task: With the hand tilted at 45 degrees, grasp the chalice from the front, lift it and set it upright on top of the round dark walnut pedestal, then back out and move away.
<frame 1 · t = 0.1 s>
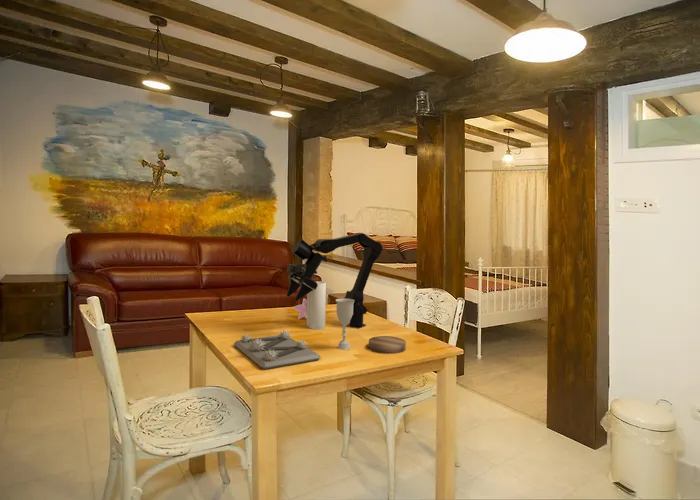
hand: (291, 298, 181), 15 cm above the table, tool tilted 35°, fingers open, 9 cm apart
decorative plate: (275, 354, 158), on the table
walnut pedestal: (387, 347, 167), on the table
vase: (315, 326, 195), on the table
chalice: (343, 348, 166), on the table
lily: (306, 319, 209), on the table
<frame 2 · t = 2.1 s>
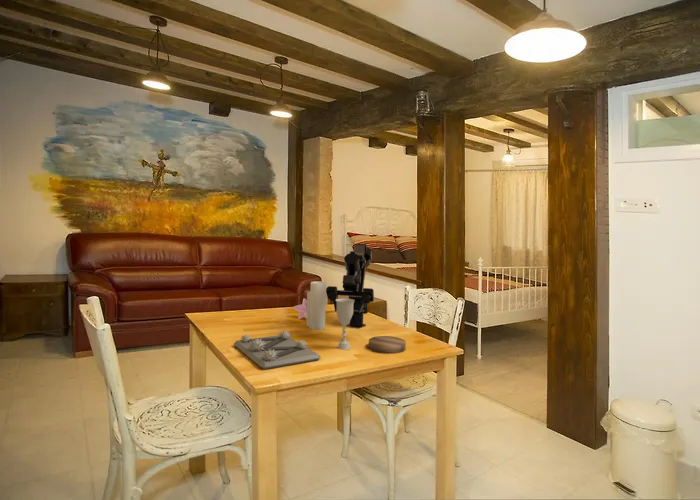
hand: (347, 311, 170), 12 cm above the table, tool tilted 45°, fingers open, 9 cm apart
nothing on the table moved.
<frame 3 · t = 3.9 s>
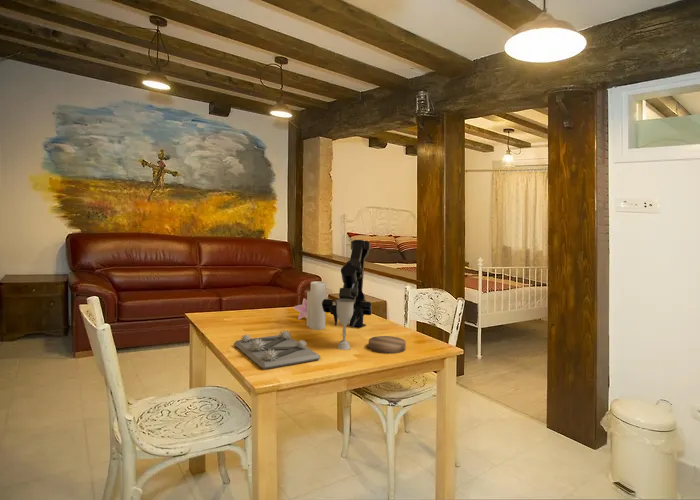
hand: (343, 326, 164), 9 cm above the table, tool tilted 45°, fingers closed on chalice, 6 cm apart
chalice: (343, 348, 166), on the table, touching gripper
everything else where it was.
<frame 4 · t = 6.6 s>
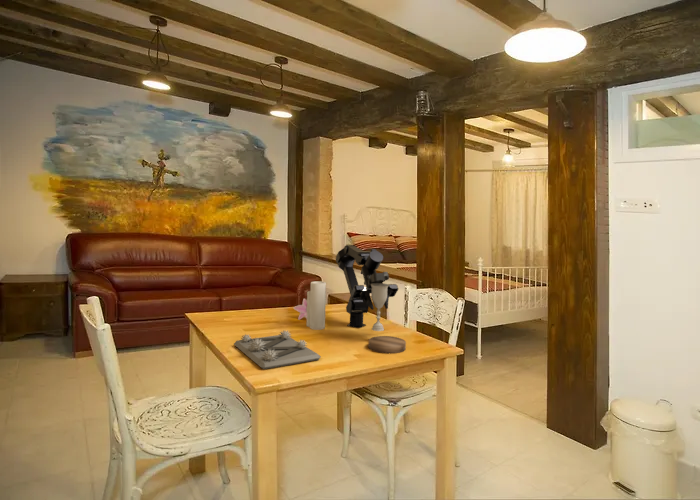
hand: (380, 308, 173), 13 cm above the table, tool tilted 45°, fingers closed on chalice, 6 cm apart
chalice: (377, 329, 175), point 4 cm above the table, touching gripper
everything else where it was.
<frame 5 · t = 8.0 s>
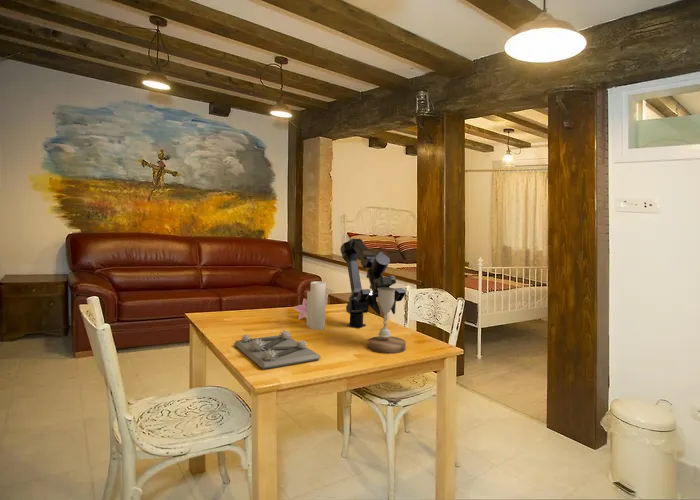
hand: (386, 313, 167), 13 cm above the table, tool tilted 45°, fingers closed on chalice, 6 cm apart
chalice: (384, 335, 169), point 4 cm above the table, touching gripper
everything else where it was.
when the fingers open (12 cm above the table, at t = 9.1 s): chalice drops 1 cm, resting on walnut pedestal.
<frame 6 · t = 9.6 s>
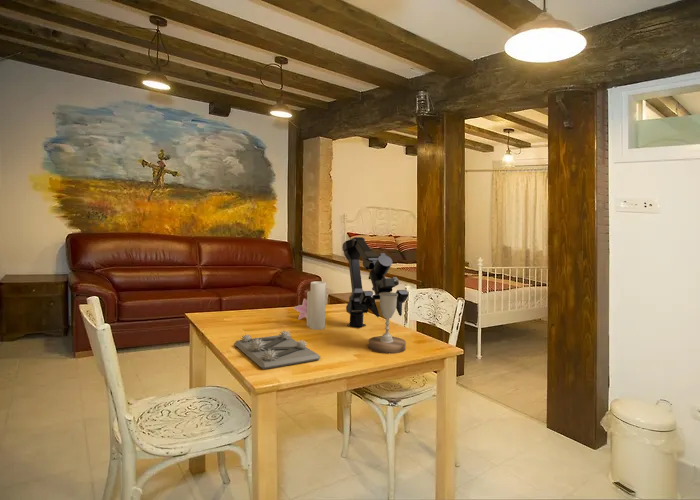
hand: (389, 315, 165), 13 cm above the table, tool tilted 45°, fingers open, 9 cm apart
chalice: (386, 341, 167), point 2 cm above the table, touching gripper, walnut pedestal
everything else where it was.
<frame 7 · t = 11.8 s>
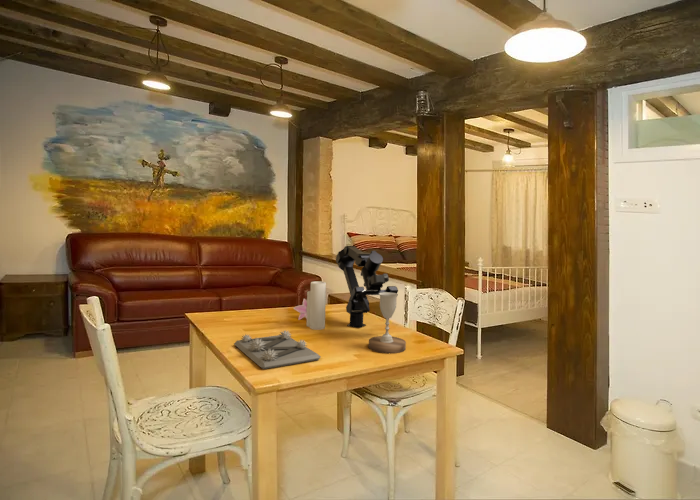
hand: (379, 310, 173), 13 cm above the table, tool tilted 45°, fingers open, 9 cm apart
chalice: (386, 341, 167), point 2 cm above the table, touching walnut pedestal
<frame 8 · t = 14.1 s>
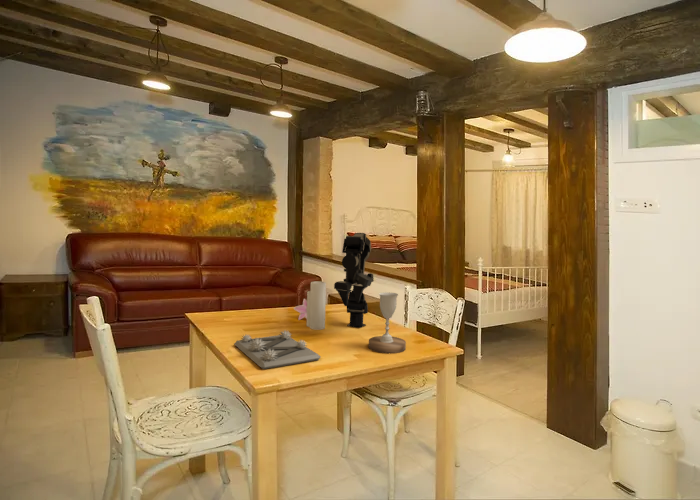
hand: (351, 304, 182), 13 cm above the table, tool pointing down, fingers open, 9 cm apart
at the end: chalice inside the target area on the walnut pedestal (0.4 cm from its centre), point 2.3 cm above the walnut pedestal's base; chalice tilted 0°; the gripper is holding nothing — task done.
